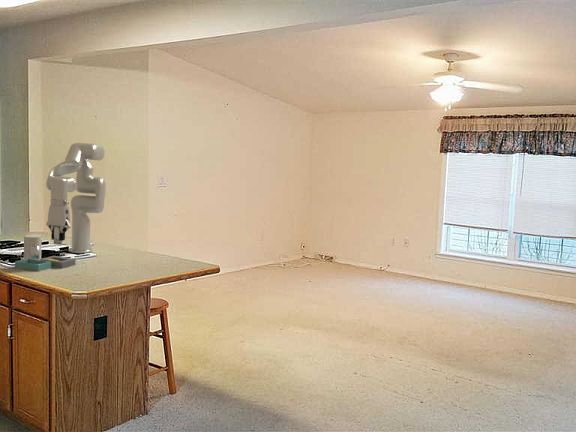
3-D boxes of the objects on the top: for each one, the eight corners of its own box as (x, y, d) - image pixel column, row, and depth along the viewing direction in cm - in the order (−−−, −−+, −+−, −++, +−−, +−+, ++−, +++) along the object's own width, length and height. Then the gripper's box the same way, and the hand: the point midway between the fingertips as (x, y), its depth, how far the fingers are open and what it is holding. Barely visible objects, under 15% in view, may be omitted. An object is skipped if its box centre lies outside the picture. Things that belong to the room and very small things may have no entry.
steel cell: (57, 242, 276) (57, 224, 275) (64, 243, 275) (64, 225, 274) (51, 243, 272) (52, 225, 271) (58, 244, 271) (58, 226, 270)
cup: (28, 261, 279) (29, 237, 277) (20, 258, 284) (20, 235, 282) (44, 259, 285) (44, 236, 284) (36, 256, 290) (36, 234, 289)
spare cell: (34, 261, 279) (35, 243, 278) (41, 262, 278) (41, 244, 277) (28, 262, 275) (29, 245, 274) (35, 263, 274) (35, 246, 273)
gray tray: (54, 261, 282) (54, 255, 281) (75, 264, 278) (75, 258, 278) (39, 265, 272) (39, 258, 272) (61, 268, 268) (61, 261, 268)
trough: (28, 264, 272) (28, 258, 272) (51, 267, 268) (51, 261, 268) (15, 267, 264) (15, 261, 264) (38, 271, 260) (38, 265, 260)
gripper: (78, 204, 272) (77, 240, 274) (50, 201, 277) (49, 237, 279) (68, 205, 265) (67, 242, 267) (39, 202, 270) (38, 238, 272)
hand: (58, 239), depth 273 cm, fingers closed on steel cell, 4 cm apart
